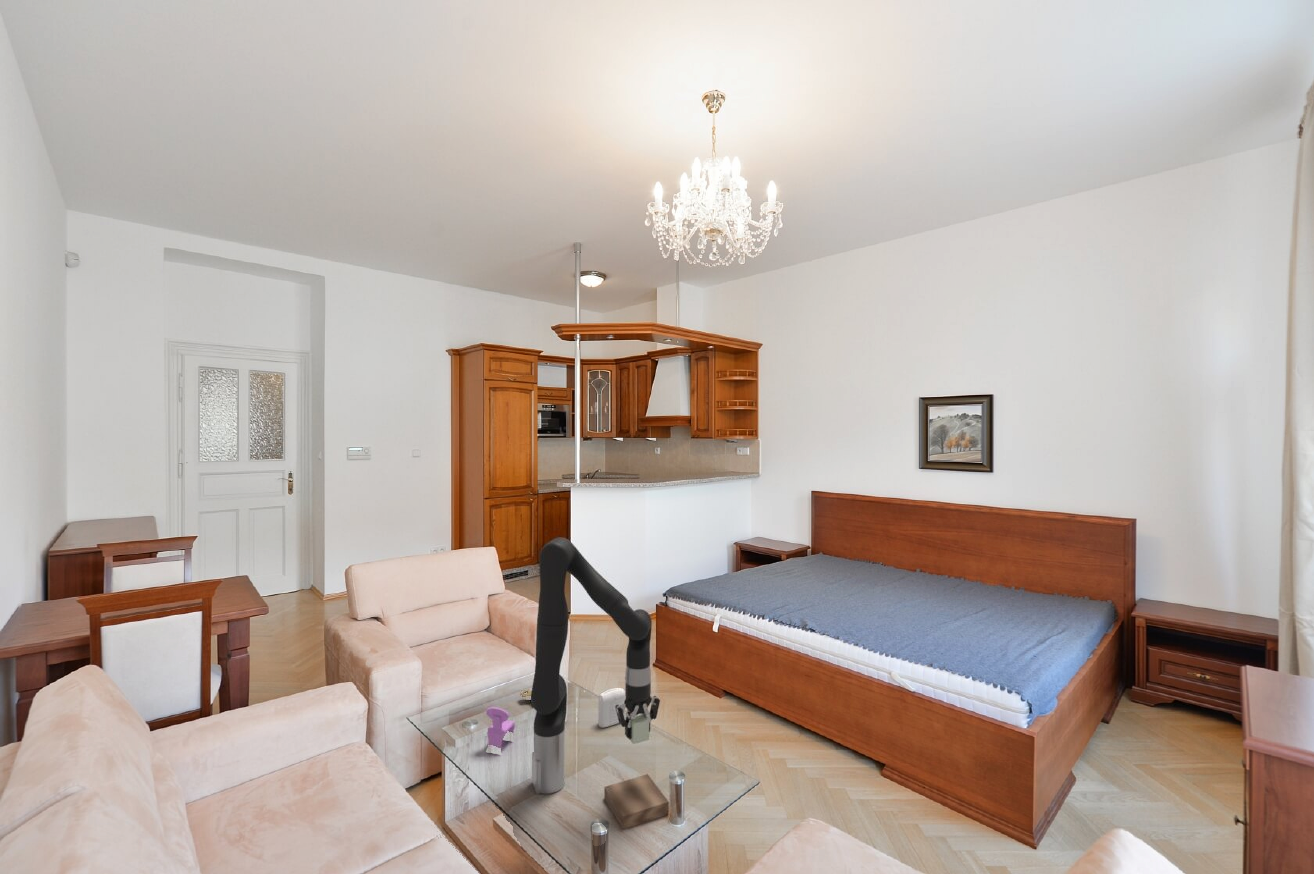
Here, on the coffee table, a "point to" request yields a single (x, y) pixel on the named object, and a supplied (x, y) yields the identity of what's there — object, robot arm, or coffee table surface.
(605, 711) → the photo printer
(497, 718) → the toy chair
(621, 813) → the walnut block
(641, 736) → the sage block
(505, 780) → the coffee table surface
